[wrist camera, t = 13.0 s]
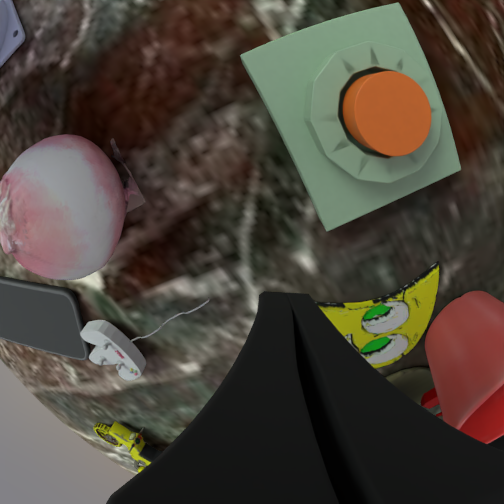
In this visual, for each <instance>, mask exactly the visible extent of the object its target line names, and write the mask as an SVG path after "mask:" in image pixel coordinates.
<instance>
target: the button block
mask: <svg viewBox="0 0 504 504" xmlns="http://www.w3.org/2000/svg"><path fill="white" fill-rule="evenodd" d="M241 61H242V63H243V65H244V67H245V69H246V71H247V72H248V74H249V76H250V78H251V80H252V82H253V83H254V85H255V87H256V89H257V91H258V93H259V95H260V96H261V98H262V100H263V102H264V104H265V106H266V108H267V110H268V112H269V114H270V116H271V118H272V120H273V121H274V123H275V125H276V127H277V129H278V131H279V133H280V135H281V137H282V139H283V141H284V143H285V146H286V148H287V150H288V152H289V154H290V156H291V158H292V160H293V162H294V164H295V166H296V168H297V171H298V173H299V175H300V177H301V179H302V181H303V183H304V186H305V188H306V190H307V192H308V194H309V197H310V199H311V201H312V203H313V205H314V208H315V210H316V212H317V215H318V217H319V219H320V220H321V222H322V224H323V226H324V228H325V229H326V231H330V230H332V229H334V228H336V227H338V226H341V225H343V224H345V223H347V222H349V221H352V220H354V219H356V218H358V217H360V216H363V215H365V214H367V213H369V212H371V211H373V210H376V209H378V208H380V207H382V206H384V205H387V204H389V203H391V202H393V201H395V200H397V199H400V198H402V197H404V196H406V195H408V194H410V193H413V192H415V191H417V190H419V189H421V188H423V187H425V186H428V185H430V184H432V183H434V182H436V181H438V180H440V179H443V178H445V177H447V176H449V175H451V174H453V173H455V172H458V171H460V170H461V167H460V162H459V158H458V154H457V150H456V146H455V142H454V139H453V135H452V132H451V128H450V125H449V121H448V118H447V115H446V112H445V109H444V106H443V103H442V100H441V97H440V94H439V91H438V88H437V86H436V83H435V80H434V78H433V75H432V72H431V70H430V67H429V65H428V63H427V60H426V58H425V55H424V53H423V51H422V49H421V46H420V44H419V42H418V40H417V38H416V36H415V33H414V31H413V29H412V27H411V25H410V23H409V21H408V19H407V17H406V15H405V13H404V12H403V10H402V8H401V6H400V4H399V3H394V4H389V5H385V6H380V7H376V8H372V9H368V10H364V11H360V12H356V13H353V14H349V15H346V16H342V17H339V18H336V19H332V20H329V21H326V22H323V23H320V24H317V25H314V26H311V27H308V28H305V29H302V30H300V31H297V32H294V33H292V34H289V35H286V36H284V37H281V38H279V39H276V40H274V41H271V42H269V43H267V44H264V45H262V46H259V47H257V48H255V49H253V50H250V51H248V52H246V53H244V54H242V55H241ZM384 71H394V72H399V73H402V74H405V75H407V76H408V77H410V78H411V79H413V80H414V81H415V82H416V83H417V84H418V85H419V86H420V87H421V88H422V90H423V91H424V93H425V94H426V96H427V98H428V101H429V104H430V108H431V117H432V118H431V127H430V130H429V133H428V136H427V138H426V139H425V141H424V142H423V144H422V145H421V146H420V147H419V148H418V149H416V150H415V151H414V152H412V153H410V154H407V155H404V156H388V155H384V154H382V153H379V152H377V151H375V150H372V149H370V148H367V147H365V146H363V145H362V144H360V143H359V142H358V141H357V140H356V139H354V137H353V136H352V135H351V134H350V132H349V131H348V129H347V127H346V124H345V122H344V118H343V100H344V97H345V94H346V92H347V90H348V88H349V87H350V86H351V84H352V83H353V82H355V81H356V80H357V79H359V78H360V77H363V76H365V75H369V74H374V73H378V72H384Z"/></svg>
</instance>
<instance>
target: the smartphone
mask: <svg viewBox="0 0 504 504" xmlns="http://www.w3.org/2000/svg"><path fill="white" fill-rule="evenodd" d="M83 328H84V325H83V320H82V316H81V312H80V308H79V303H78V300H77V298H76V296H75V294H74V293H73V292H72V291H71V290H69V289H67V288H63V287H57V286H51V285H45V284H39V283H34V282H28V281H22V280H17V279H12V278H7V277H1V276H0V338H1V339H4V340H7V341H10V342H14V343H17V344H20V345H24V346H27V347H31V348H34V349H38V350H41V351H45V352H49V353H53V354H57V355H61V356H65V357H69V358H74V359H78V360H86V359H88V357H89V355H90V347H89V344H88V342H86V341H85V340H84V339H83V338H82V337H81V335H80V333H81V331H82V330H83Z"/></svg>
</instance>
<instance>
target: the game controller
mask: <svg viewBox="0 0 504 504" xmlns="http://www.w3.org/2000/svg"><path fill="white" fill-rule="evenodd" d="M208 298H209V297H208ZM209 300H210V299H208V300H207V301H206V302H205V303H203V304H202V305H200V306H199V307H197V308H195V309H193V310H191V311H189V312H186V313H185V314H188V313H190V312H193V311H195V310H197V309H198V308H200V307H202V306H203V305H205V304H206V303H207V302H208V301H209ZM183 313H184V312H182V313H179V314H177V315H175V316H173V317H171V318H170V319H168V320H167V321H165V322H164V323H163V324H162V325H161V327H160V328H158V329H157V330H156V331H154V332H152V333H151V334H149V335H147V336H144V337H137V338H134V339H132V340H131V341H130V340H129V339H128V338H127V337H126V336H125V335H124V334H123V333H122V332H121V331H120V330H119V329H117V328H116V327H115V326H113V325H112V324H111V323H109V322H107V321H105V320H95V321H89V322H88V323H87V324H86V326H85V327H84V328H83V330H82V331H81V333H80V335H81V337H82V338H83V339H84V340H85V341H86V342H89V343H91V344H94V345H96V346H95V348H94V349H93V351H92V352H91V354H90V356H89V359H90V360H91V361H92V362H93V363H95V364H99V365H103V364H116V363H117V364H118V365H117V366H116V369H117V370H119V375H120V377H122V378H123V379H125V380H127V381H131V380H133V379H136V378H139V376H141V374H142V372H143V370H144V368H145V366H146V360H145V358H144V357H143V355H142V354H141V352H140V351H139V350H138V348H137V347H136V346H135V345H134V344H133V343H132V341H134V340H136V339H138V338H142V339H143V338H146V337H148V336H150V335H152V334H154V333H155V332H157V331H158V330H160V329H161V328H162V326H163V325H164V324H165V323H167V322H168V321H169V320H171V319H173V318H175V317H176V316H178V315H181V314H183Z"/></svg>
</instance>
